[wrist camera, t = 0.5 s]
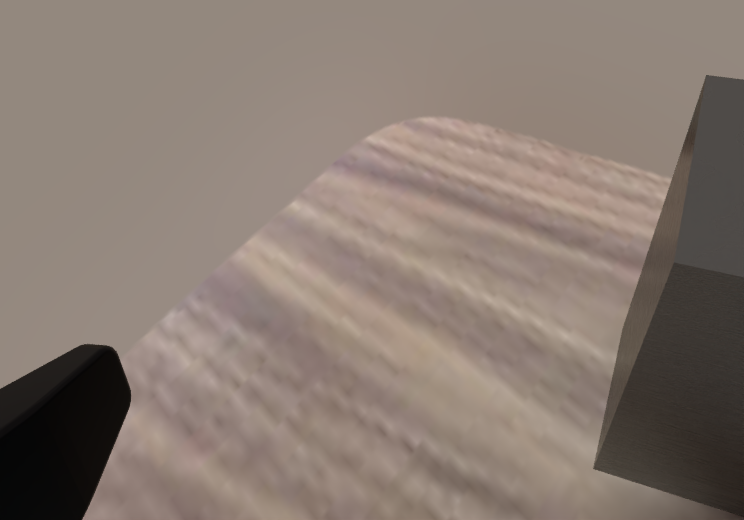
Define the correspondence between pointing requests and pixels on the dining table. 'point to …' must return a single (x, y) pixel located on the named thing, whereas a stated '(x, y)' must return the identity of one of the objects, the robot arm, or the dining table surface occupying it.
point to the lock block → (688, 325)
